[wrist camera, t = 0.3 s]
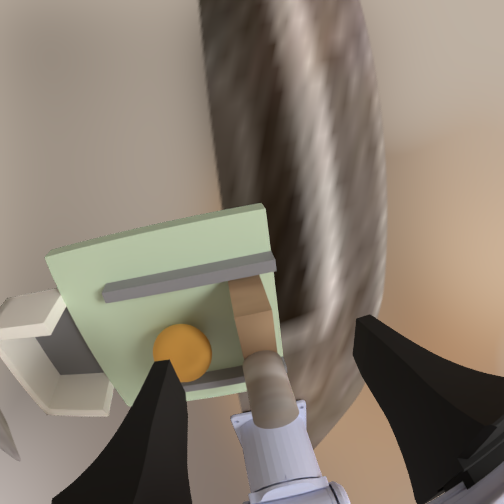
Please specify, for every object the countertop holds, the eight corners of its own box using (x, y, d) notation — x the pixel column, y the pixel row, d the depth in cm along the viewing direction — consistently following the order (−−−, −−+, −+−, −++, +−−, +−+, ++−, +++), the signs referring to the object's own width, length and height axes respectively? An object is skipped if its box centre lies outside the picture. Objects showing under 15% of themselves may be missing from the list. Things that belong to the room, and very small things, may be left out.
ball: (215, 348, 22) (220, 389, 18) (165, 356, 21) (162, 397, 18) (203, 307, 20) (205, 347, 16) (148, 317, 19) (140, 357, 16)
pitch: (282, 373, 26) (295, 411, 22) (73, 398, 24) (64, 432, 20) (261, 202, 19) (278, 228, 15) (-8, 266, 17) (-36, 296, 13)
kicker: (273, 357, 22) (300, 442, 15) (243, 364, 22) (262, 451, 15) (261, 272, 19) (296, 363, 12) (224, 279, 19) (240, 376, 12)
